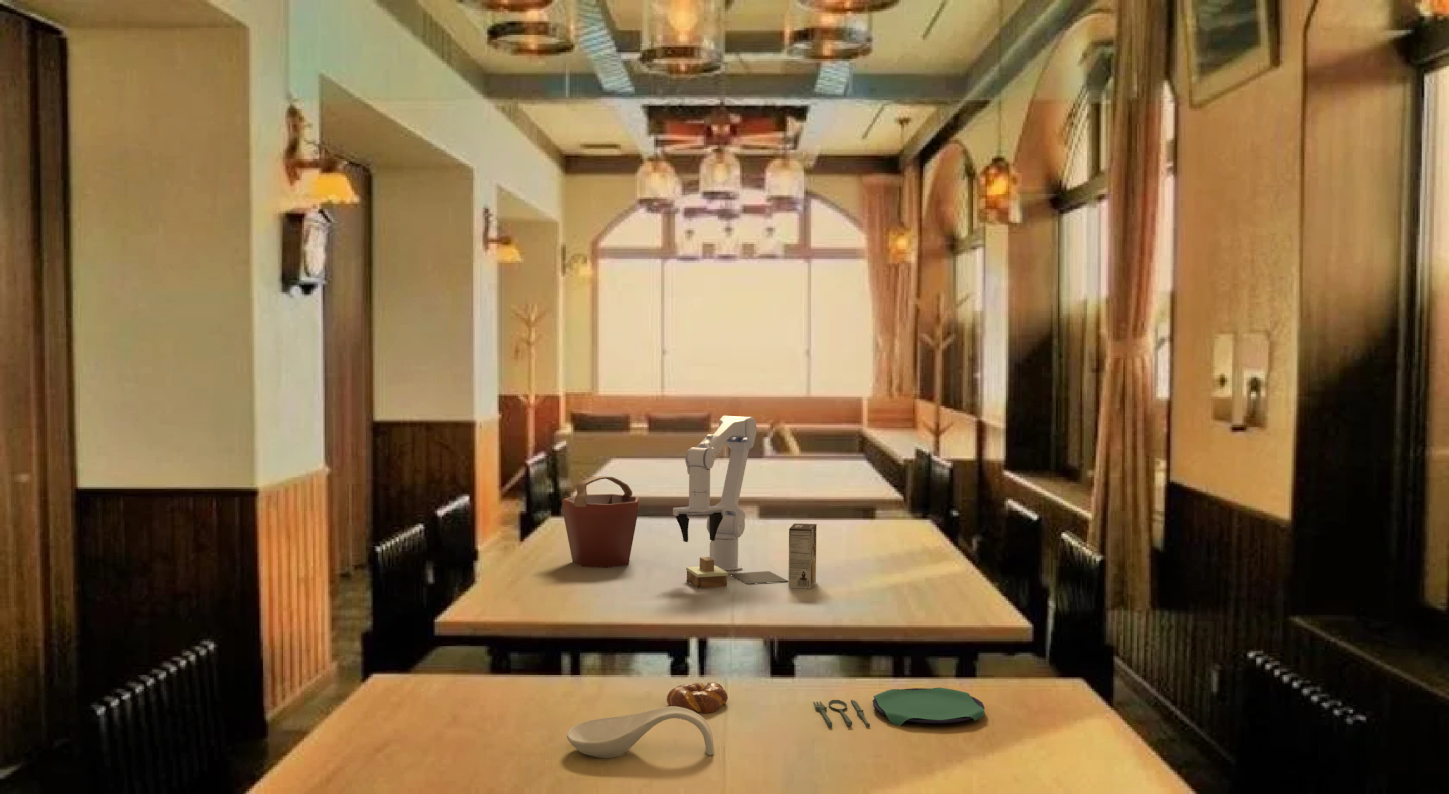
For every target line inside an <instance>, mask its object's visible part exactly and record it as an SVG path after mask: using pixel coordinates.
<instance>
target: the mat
mask: <svg viewBox="0 0 1449 794" xmlns="http://www.w3.org/2000/svg"><path fill="white" fill-rule="evenodd" d="M729 574H730V575H729ZM728 575H729V576H731V575H732V576H731V577H733V578H734V577H735V579H736V578H737V579H736V580H738V581H740V580H741V581H742V582H741V581H740V582H741V583H743V582H745V583H746V584H745V583H744V584H745V585H747V584H748V585H756V584H755V583H764V584H768V583H767V582H780V583H789V580H787V579H785V578H783V577H782V576H779V575H777V574H776V573H774V572H772V571H770V570H769V571H768V570H765V571H752V572H751V571H748V572H736V573H734V572H731V573H729V572H728Z"/></svg>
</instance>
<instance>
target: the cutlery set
mask: <svg viewBox="0 0 1449 794" xmlns="http://www.w3.org/2000/svg"><path fill="white" fill-rule="evenodd" d="M812 702H813V706H814V710H815V711H816V712H819V713H820V714H821V716H822V718H823V720H824V722H825V723H826V725H827V727H828V728H833V722H832V720H831V719H830V717H829V716H828V715H827V713H826V711H827V710H828V709H827V708H828V707H827V706H825V705H824V704H823V703H822V700H821V701H819V702H818V701H812ZM850 702H851V704H852V706H853V708H854V709H855V710H856V715H857V716H858V717H859V718H861V719H862V721H863V723H864V724H865V728H870V727H871V724H870V723H869V722H868V721H867V719H866V717H865V712H864V709H862V708H861V706H860V704H859V703H858V701H856V700H855V699H850ZM832 705H841V706H843V708H837V707H833V706H832ZM847 705H848V704H847V703H846V702H845V701H842V700H839V699H831V700H829V701H828V706H829V708H831V710H834V711H838V712H839V713H840V714H841V716H842V717H843V719H844V721H845V723H846V725H847V726H848V727H849V726H853V721H852V720H851V719H850V717H849V716H848V714H847V713H846V712H844V711H845V710H846V709H847V707H848V706H847ZM872 706H873V708H874V709H875V710H876V711H877V712H879V714H882V715H884V716H886V717H887V719H888V720H889V721H890V722H891V723H892V725H895V726H900V727H901V726H902V725H903V724H904V723H905V722H910V723H911V722H912V723H922V724H948V723H949V724H950V723H959V722H964V721H967V720H972V721H973V722H976V721H977V720H980V719H982V718H983V717H984V715H985V706H984V703H983V702H982V701H981V700H979V699H978V698H976V697H974V696H971V695H970V693H968V692H965V691H962V690H958V689H953V688H952V689H951V688H945V687H931V688H928V687H927V688H925V687H922V688H920V687H919V688H918V687H913V688H903V689H902V688H901V689H900V688H891V689H888V690H885V691H882V692H880V693H877V694H876V695H873V700H872Z"/></svg>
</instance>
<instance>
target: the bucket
mask: <svg viewBox="0 0 1449 794" xmlns="http://www.w3.org/2000/svg"><path fill="white" fill-rule="evenodd" d="M600 480H608V481H610V482H612V483H614V484H615V485H617V486H619V487H620V488H621V490H622V491H623V493H624V494H616V493H606V494H605V493H599V494H598V493H597V494H596V493H595V494H594V493H593V494H588V491H587V486H588V485H590V484H593V483H594V482H597V481H600ZM575 489H576V494H575V495H574V496H569V497H565V498H562V503H561V504H562V507H561V508H562V514H563V519H564V524H565V530H566V535H567V541H568V544H569V545H568V546H569V550H570V551H569V552H570V556H571V560H572V563H574V564H576V565H577V566H579V567H582V568H583V567H584V568H585V567H586V568H601V569H603V568H604V569H605V568H606V569H609V568H614V567H615V568H616V567H623V566H624V567H625V566H629V565H630V564H629V563H630V558H631V553H632V547H633V542H634V537H635V532H636V531H635V530H636V526H637V520H638V516H639V509H640V496H635V495H633V490H632V489H631V487H630V486H629V484H627V483H626V482H623V481H622V480H620V479H618V478H616V477H613V476H607V475H605V476H604V475H601V476H591V477H589V478H586V479H583V480H580V481H579V482H576V488H575Z"/></svg>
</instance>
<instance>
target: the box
mask: <svg viewBox="0 0 1449 794" xmlns="http://www.w3.org/2000/svg"><path fill="white" fill-rule="evenodd" d="M686 582H688V583H689V582H690V583H689V584H691V585H692V586H694V587H695V588H696V589H710V588H711V589H712V588H725V586H727V587H728V576H712V577H696V576H695V575H693V574H692V573H690V572H688V571H687V570H686Z"/></svg>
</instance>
